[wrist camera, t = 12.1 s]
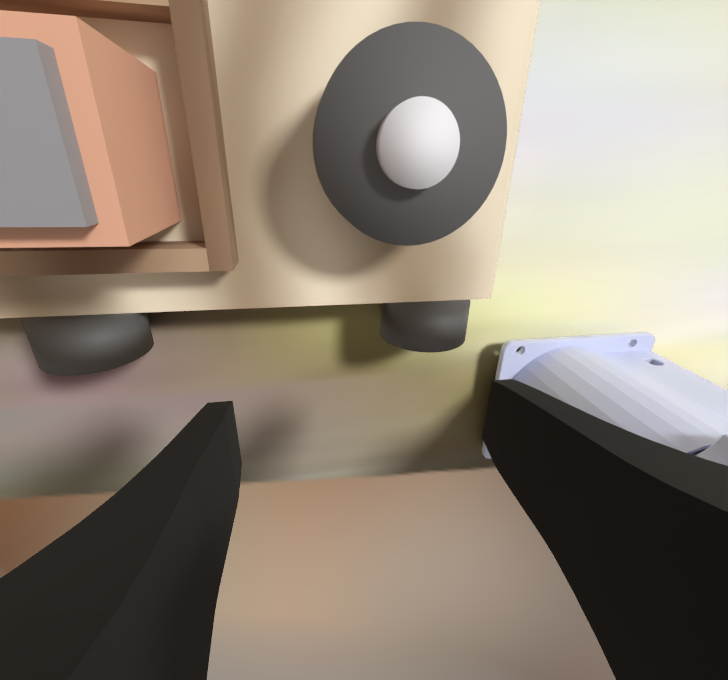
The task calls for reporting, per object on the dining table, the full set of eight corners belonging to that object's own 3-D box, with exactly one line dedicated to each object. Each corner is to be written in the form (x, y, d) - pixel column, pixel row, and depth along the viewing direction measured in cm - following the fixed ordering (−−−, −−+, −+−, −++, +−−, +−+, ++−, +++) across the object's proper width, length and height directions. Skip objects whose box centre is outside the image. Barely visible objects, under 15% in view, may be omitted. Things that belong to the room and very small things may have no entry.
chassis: (518, -81, 14) (597, -167, 10) (463, 316, 20) (500, 348, 17) (-137, -174, 11) (-356, -348, 7) (46, 336, 17) (-19, 381, 13)
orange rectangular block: (155, 72, 12) (59, 4, 7) (181, 220, 14) (119, 251, 9) (-8, 62, 11) (-249, -22, 6) (42, 220, 13) (-112, 254, 8)
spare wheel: (496, 46, 12) (536, 23, 10) (471, 236, 15) (499, 247, 13) (308, 31, 11) (312, 2, 9) (315, 238, 14) (319, 250, 12)
